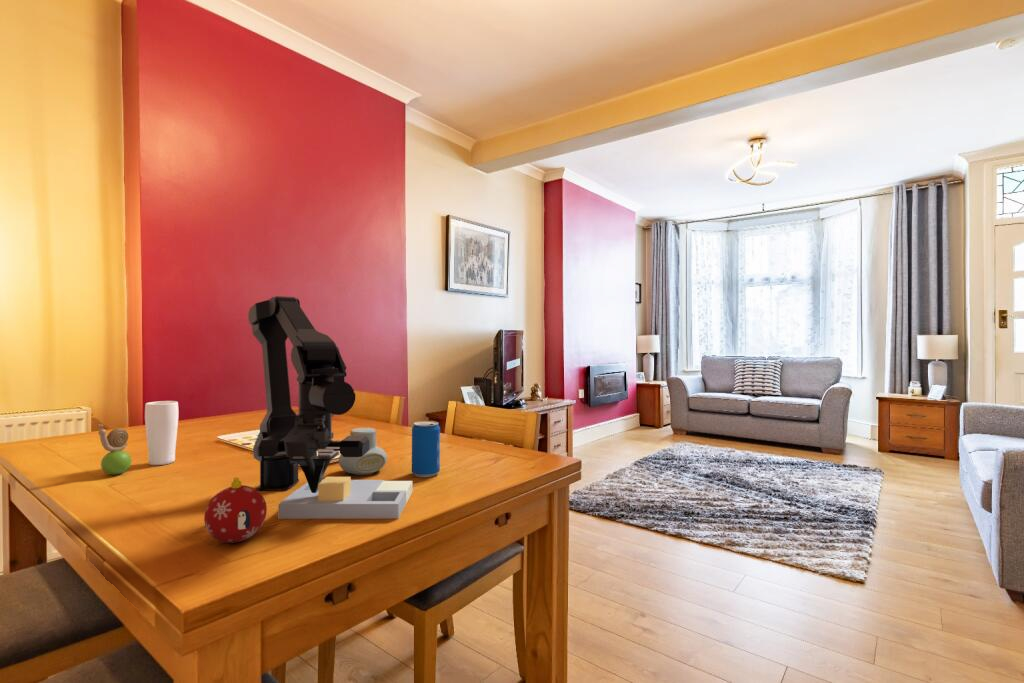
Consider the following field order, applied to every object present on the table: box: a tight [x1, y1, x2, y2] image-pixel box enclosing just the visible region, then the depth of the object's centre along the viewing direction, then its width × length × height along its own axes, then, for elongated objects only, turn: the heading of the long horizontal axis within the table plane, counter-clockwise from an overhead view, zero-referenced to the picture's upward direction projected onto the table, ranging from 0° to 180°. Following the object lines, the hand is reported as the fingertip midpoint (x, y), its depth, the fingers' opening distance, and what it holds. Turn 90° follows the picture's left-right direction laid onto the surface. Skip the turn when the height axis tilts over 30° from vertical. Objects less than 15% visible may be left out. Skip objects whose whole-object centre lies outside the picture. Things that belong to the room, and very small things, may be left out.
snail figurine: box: [97, 423, 133, 476], centre depth 112 cm, size 5×6×12 cm
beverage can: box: [411, 420, 441, 478], centre depth 116 cm, size 6×6×12 cm
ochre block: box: [318, 476, 352, 501], centre depth 92 cm, size 4×4×3 cm
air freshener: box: [338, 427, 388, 476], centre depth 117 cm, size 11×8×10 cm
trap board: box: [278, 479, 414, 520], centre depth 95 cm, size 21×15×3 cm
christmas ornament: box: [203, 476, 268, 544], centre depth 78 cm, size 9×9×10 cm
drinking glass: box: [144, 400, 180, 466], centre depth 122 cm, size 7×7×15 cm
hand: (314, 492), depth 92 cm, fingers closed
